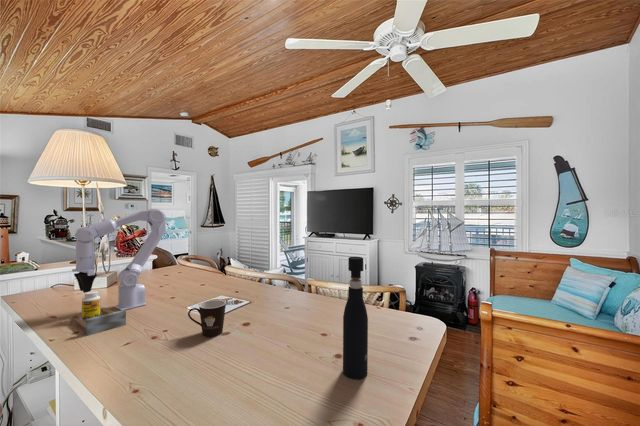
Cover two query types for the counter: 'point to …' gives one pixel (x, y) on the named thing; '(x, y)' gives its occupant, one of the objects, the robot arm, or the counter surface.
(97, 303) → the supplement bottle
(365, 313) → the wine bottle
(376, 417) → the counter surface
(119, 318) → the guide track
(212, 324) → the coffee mug
